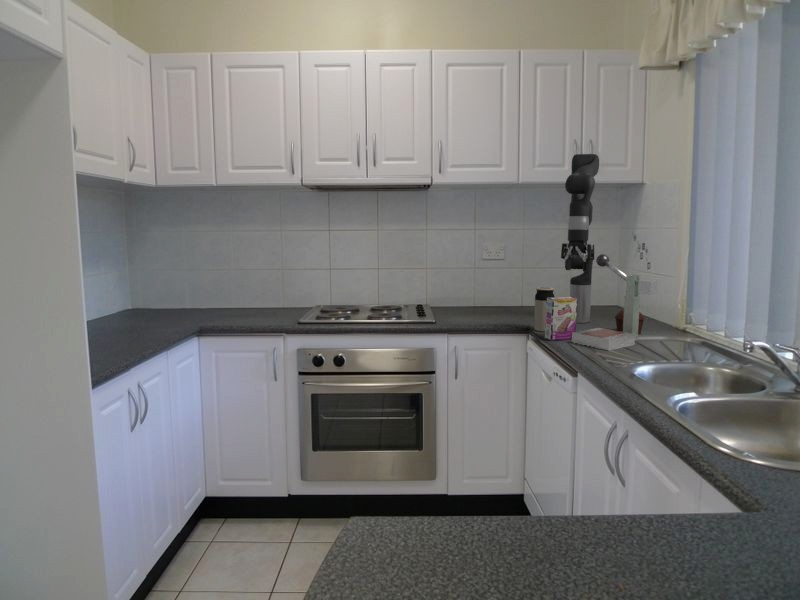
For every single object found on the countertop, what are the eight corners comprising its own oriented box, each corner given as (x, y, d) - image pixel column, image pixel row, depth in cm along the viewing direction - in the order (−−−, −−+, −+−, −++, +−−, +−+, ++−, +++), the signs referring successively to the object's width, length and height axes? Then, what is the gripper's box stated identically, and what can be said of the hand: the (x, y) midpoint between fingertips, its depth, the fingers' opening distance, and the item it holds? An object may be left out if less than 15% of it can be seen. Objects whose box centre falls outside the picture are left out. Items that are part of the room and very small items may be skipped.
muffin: (616, 329, 237) (617, 306, 236) (644, 331, 232) (645, 308, 231) (612, 334, 227) (613, 310, 226) (642, 337, 222) (643, 312, 220)
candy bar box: (551, 341, 215) (552, 299, 212) (544, 338, 219) (545, 297, 217) (576, 339, 218) (577, 297, 216) (568, 337, 223) (570, 296, 220)
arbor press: (571, 342, 212) (574, 277, 208) (613, 334, 227) (616, 273, 223) (608, 350, 199) (612, 280, 195) (649, 341, 214) (653, 276, 210)
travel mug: (540, 332, 232) (541, 289, 229) (530, 328, 240) (531, 287, 237) (557, 331, 234) (558, 288, 232) (547, 327, 242) (548, 286, 239)
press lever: (592, 288, 228) (593, 254, 226) (599, 287, 230) (601, 253, 228) (649, 294, 207) (651, 257, 205) (656, 293, 210) (659, 256, 208)
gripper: (557, 228, 217) (555, 270, 219) (586, 228, 205) (584, 272, 207) (570, 228, 221) (569, 269, 223) (600, 228, 208) (598, 271, 211)
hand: (576, 270), depth 215 cm, fingers open, 8 cm apart
